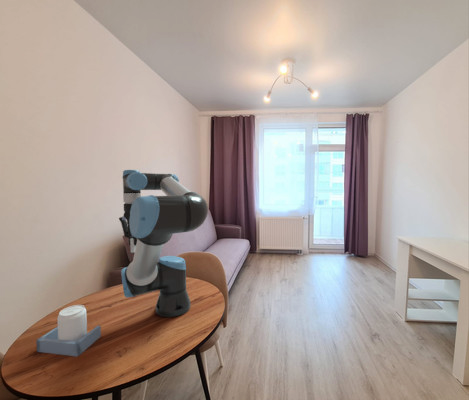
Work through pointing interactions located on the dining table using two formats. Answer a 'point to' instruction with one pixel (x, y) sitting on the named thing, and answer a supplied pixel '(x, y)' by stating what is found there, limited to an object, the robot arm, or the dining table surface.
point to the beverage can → (72, 323)
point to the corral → (66, 343)
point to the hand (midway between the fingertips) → (133, 251)
